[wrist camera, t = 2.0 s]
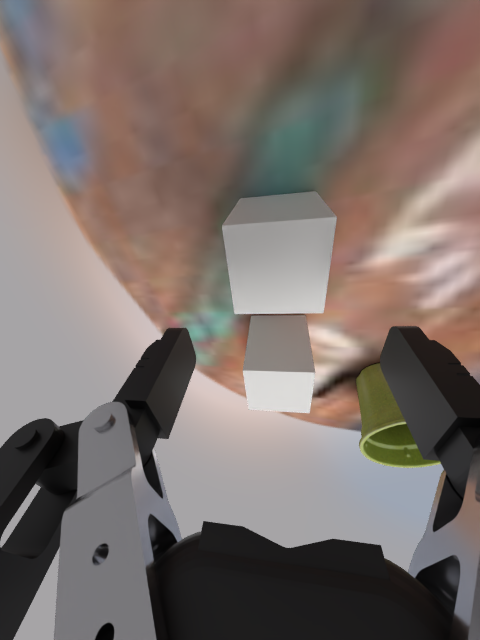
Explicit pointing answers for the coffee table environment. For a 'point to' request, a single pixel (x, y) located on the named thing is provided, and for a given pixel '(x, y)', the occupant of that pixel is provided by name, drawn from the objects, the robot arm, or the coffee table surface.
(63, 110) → the coffee table surface
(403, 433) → the plant pot
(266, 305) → the left white block
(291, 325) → the light grey rectangular block
